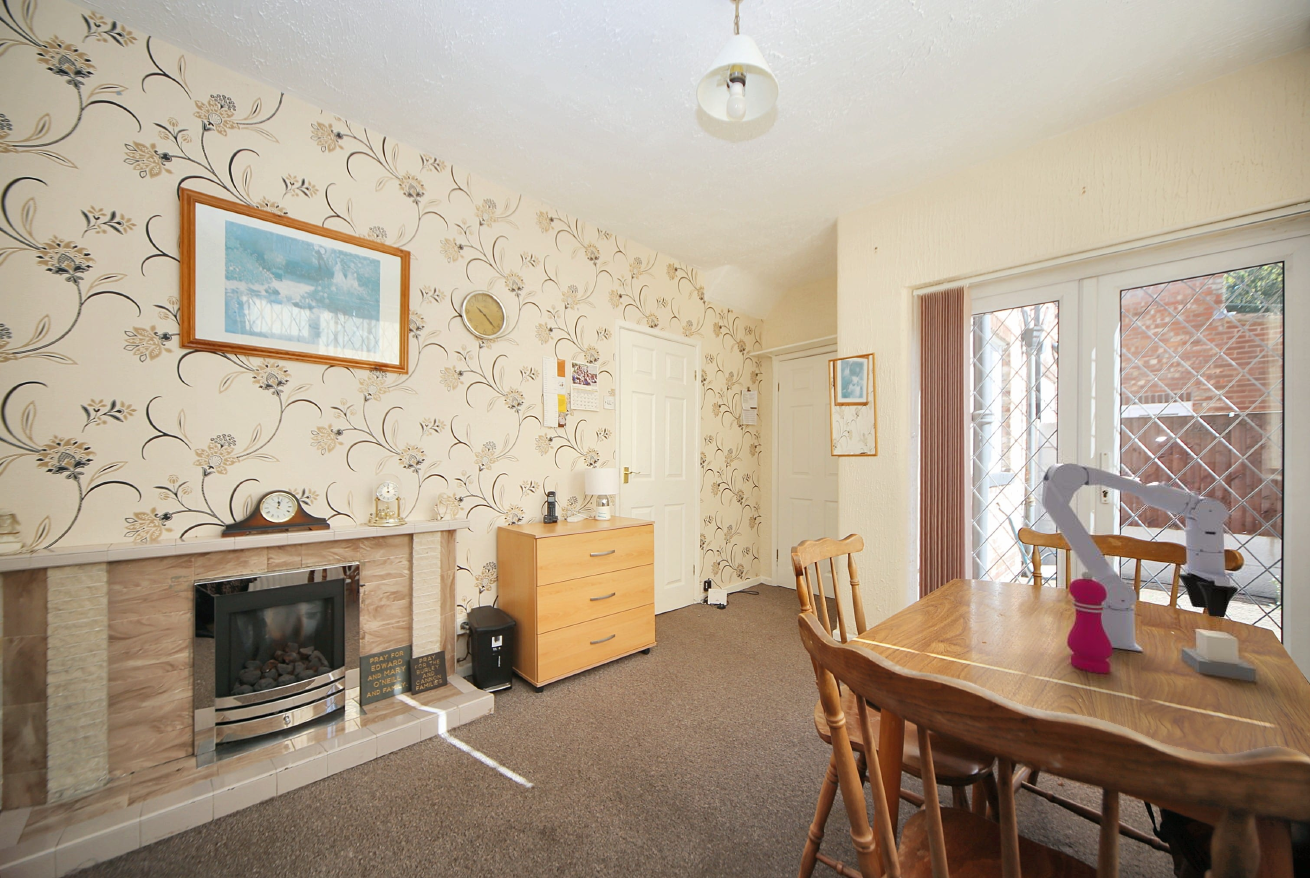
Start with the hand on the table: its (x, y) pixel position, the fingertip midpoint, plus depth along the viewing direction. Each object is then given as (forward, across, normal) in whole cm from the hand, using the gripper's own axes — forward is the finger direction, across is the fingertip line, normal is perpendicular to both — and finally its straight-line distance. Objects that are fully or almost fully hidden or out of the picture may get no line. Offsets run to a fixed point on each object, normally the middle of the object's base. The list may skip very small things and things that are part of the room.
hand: (1207, 611), depth 110 cm
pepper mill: (+10, -20, +25) cm, 34 cm away
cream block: (+7, -9, +2) cm, 12 cm away
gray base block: (+10, -9, +2) cm, 14 cm away
